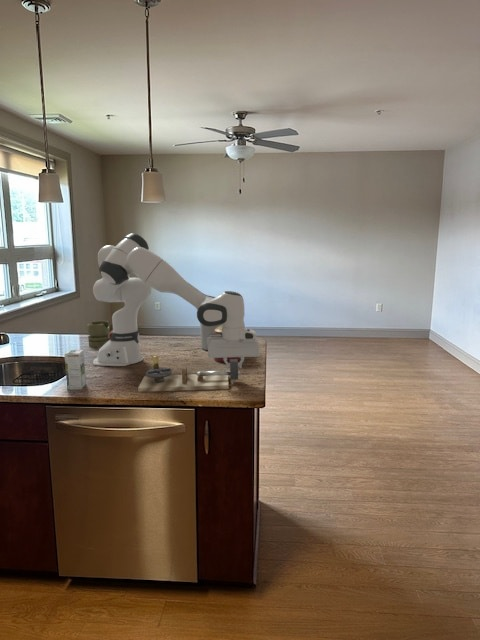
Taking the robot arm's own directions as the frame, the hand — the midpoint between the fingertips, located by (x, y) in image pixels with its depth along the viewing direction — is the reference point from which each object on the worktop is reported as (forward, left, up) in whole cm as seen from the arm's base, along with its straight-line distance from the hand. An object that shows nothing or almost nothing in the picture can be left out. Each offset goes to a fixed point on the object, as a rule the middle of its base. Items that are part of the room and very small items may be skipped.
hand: (234, 367), depth 168 cm
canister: (-2, +34, -7) cm, 34 cm away
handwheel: (-29, +1, -2) cm, 29 cm away
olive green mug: (-71, +69, -7) cm, 99 cm away
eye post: (-19, +1, -5) cm, 20 cm away
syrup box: (-61, +1, -6) cm, 62 cm away
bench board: (-19, +1, -6) cm, 20 cm away
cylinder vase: (-9, +55, -6) cm, 56 cm away
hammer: (-6, +1, -4) cm, 8 cm away
